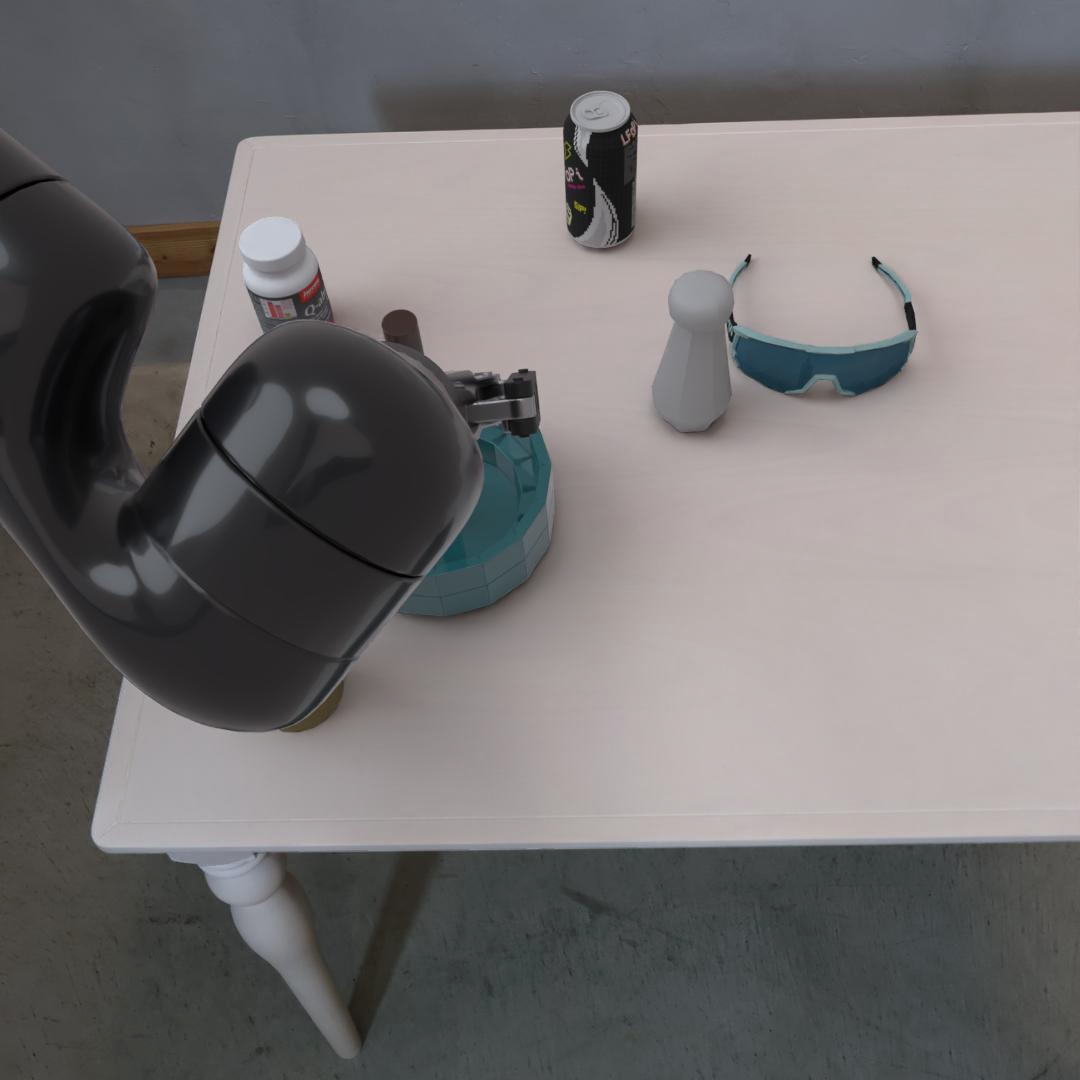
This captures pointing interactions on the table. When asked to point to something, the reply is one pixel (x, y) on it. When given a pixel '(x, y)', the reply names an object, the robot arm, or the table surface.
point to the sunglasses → (822, 353)
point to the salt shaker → (695, 353)
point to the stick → (402, 329)
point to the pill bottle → (282, 274)
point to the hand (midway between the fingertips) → (404, 400)
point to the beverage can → (600, 169)
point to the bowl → (495, 530)
